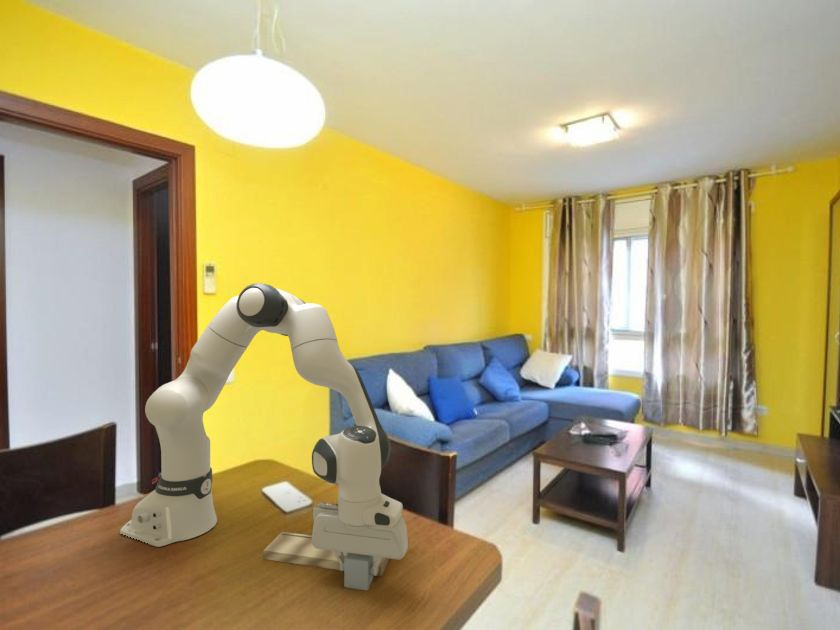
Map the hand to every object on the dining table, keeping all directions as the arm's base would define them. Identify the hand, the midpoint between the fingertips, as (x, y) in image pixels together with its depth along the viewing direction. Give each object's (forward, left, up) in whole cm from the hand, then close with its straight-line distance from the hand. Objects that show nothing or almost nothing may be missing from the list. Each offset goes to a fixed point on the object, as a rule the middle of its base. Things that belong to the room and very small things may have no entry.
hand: (359, 571), depth 88 cm
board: (-10, +7, -2) cm, 12 cm away
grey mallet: (0, +4, -2) cm, 5 cm away
